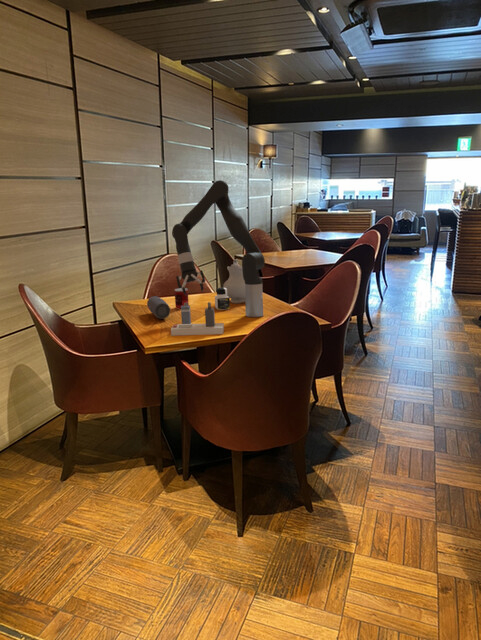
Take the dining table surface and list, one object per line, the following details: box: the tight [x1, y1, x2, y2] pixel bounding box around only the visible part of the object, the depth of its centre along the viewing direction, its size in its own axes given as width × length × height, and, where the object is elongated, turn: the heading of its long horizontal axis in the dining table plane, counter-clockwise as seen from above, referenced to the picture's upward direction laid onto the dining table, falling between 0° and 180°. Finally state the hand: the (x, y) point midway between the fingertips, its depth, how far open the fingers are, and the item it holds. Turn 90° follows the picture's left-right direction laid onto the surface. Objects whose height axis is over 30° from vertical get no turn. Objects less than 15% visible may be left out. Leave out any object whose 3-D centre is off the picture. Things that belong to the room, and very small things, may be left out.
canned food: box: [174, 287, 190, 310], centre depth 282 cm, size 8×8×11 cm
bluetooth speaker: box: [146, 295, 171, 319], centre depth 262 cm, size 23×9×10 cm, turn 21°
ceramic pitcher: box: [222, 259, 245, 304], centre depth 294 cm, size 22×20×25 cm
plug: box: [180, 305, 192, 324], centre depth 239 cm, size 4×4×10 cm
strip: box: [170, 302, 225, 337], centre depth 226 cm, size 24×9×14 cm, turn 89°
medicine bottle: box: [214, 287, 231, 311], centre depth 276 cm, size 7×7×12 cm
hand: (193, 293), depth 248 cm, fingers open, 8 cm apart
